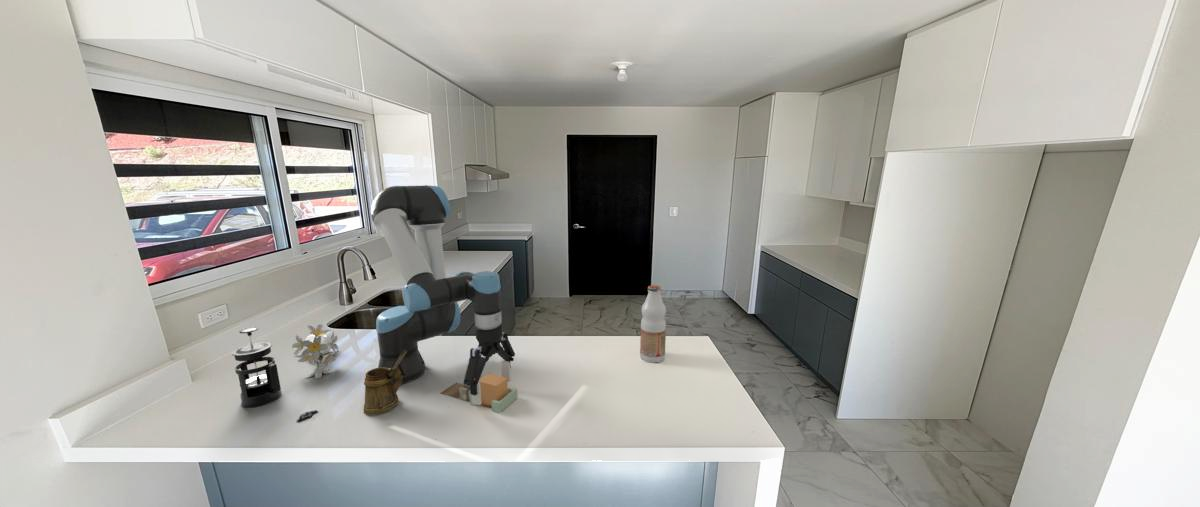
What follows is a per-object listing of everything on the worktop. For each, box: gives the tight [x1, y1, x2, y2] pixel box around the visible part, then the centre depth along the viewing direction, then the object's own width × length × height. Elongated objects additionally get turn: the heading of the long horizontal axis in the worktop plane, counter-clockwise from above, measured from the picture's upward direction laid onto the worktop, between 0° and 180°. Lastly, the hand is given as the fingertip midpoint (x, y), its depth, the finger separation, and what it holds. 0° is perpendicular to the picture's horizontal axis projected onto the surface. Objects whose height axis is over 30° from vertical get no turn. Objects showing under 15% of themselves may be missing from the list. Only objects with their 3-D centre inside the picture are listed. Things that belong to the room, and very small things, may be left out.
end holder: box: [469, 386, 519, 414], centre depth 114 cm, size 11×9×3 cm
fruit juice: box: [639, 284, 667, 364], centre depth 141 cm, size 9×9×28 cm
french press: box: [231, 327, 283, 409], centre depth 114 cm, size 12×9×23 cm
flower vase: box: [291, 324, 340, 379], centre depth 138 cm, size 13×18×25 cm
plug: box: [465, 372, 509, 406], centre depth 115 cm, size 14×5×7 cm, turn 66°
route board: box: [439, 379, 516, 413], centre depth 116 cm, size 24×7×4 cm, turn 67°
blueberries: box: [296, 409, 319, 423], centre depth 108 cm, size 7×8×2 cm
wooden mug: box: [363, 349, 407, 416], centre depth 111 cm, size 9×14×18 cm, turn 94°
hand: (492, 391), depth 114 cm, fingers open, 13 cm apart
